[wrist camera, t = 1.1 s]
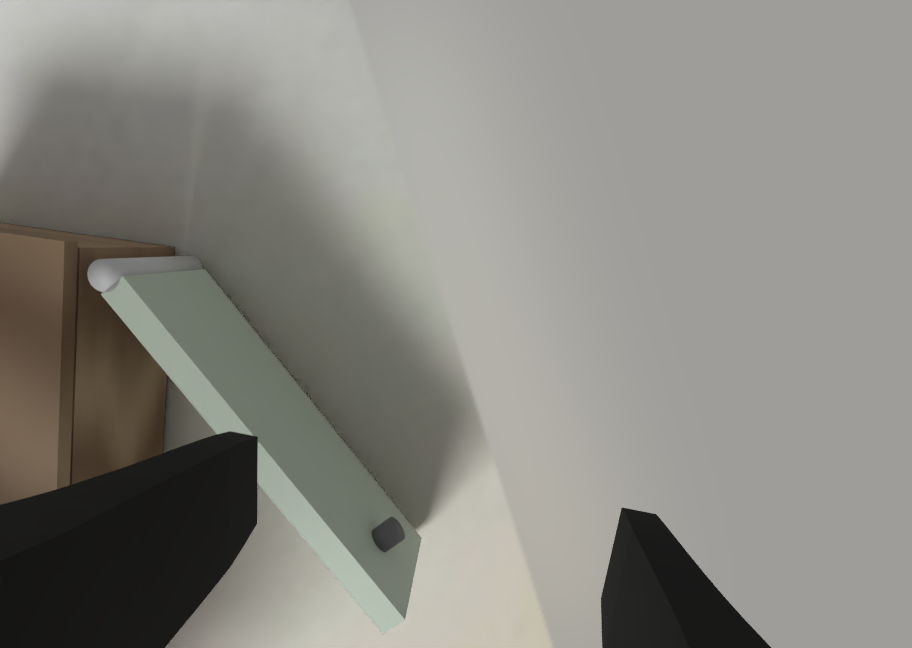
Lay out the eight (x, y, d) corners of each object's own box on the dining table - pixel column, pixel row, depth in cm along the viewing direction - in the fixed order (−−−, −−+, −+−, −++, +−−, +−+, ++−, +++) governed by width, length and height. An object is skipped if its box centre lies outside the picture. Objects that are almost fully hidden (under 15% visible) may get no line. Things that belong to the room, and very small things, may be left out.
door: (172, 266, 24) (80, 272, 18) (205, 238, 23) (122, 237, 18) (403, 550, 25) (381, 635, 20) (436, 527, 25) (423, 607, 19)
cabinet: (151, 625, 26) (48, 745, 20) (-30, 597, 27) (-188, 706, 20) (175, 242, 24) (64, 241, 17) (-27, 214, 24) (-208, 203, 18)
